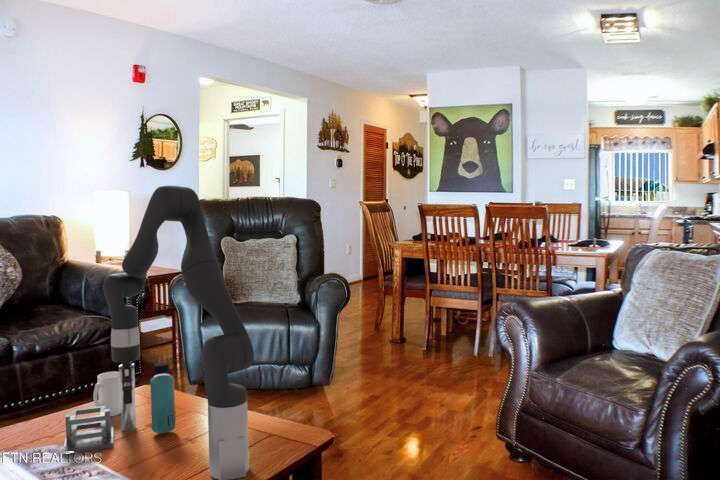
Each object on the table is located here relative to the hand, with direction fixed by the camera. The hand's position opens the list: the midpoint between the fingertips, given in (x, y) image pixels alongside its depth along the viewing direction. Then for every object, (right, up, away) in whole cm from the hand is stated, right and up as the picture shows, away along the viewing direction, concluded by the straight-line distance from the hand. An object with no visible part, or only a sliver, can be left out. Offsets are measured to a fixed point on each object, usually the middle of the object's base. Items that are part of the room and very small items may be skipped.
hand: (127, 398), depth 166 cm
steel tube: (0, -9, +1) cm, 9 cm away
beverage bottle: (+11, -9, -3) cm, 15 cm away
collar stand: (-7, -9, -9) cm, 15 cm away
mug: (-11, -8, +11) cm, 18 cm away
